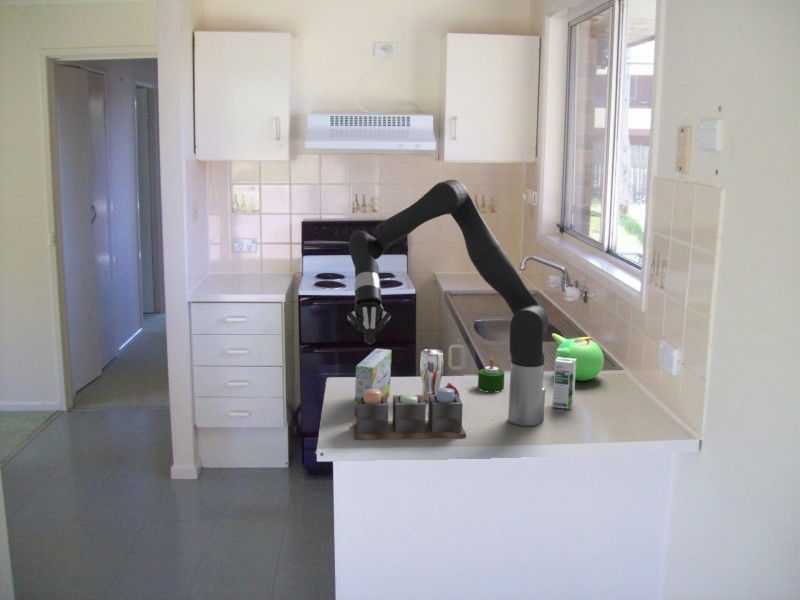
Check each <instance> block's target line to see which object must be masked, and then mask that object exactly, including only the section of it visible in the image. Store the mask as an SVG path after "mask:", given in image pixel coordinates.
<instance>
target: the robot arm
mask: <svg viewBox="0 0 800 600" xmlns="http://www.w3.org/2000/svg"><path fill="white" fill-rule="evenodd" d="M472 198H473V197H471V194H470V193H469V191H468V189H467V187H466V186H465V185H464V184H463V183H462V182H461V181H459V180H456V179H448V180H445V181H441V182H438V183H436V184H435V185H434V186H432V187H431V188H430V189H429V190H428V191H427V192H426V193H424V195H422V196H421V198H419V199H418V200H417V201H415V202H414V203H412V204H411V205H410V206H408V207H406V208H405V209H403V210H401V211H399V212H397V213H396V214H394V215H392V216H390V217H389V218H386V220H384V221H382V222H380V223H379V224H377V226H376V227H375V228H374V235H375V237H374V236H373V235H371V234H369V233H368V232H366V231H365V230H356V231H354V232H353V233H352V234H351V235H350V236H349V237H350V238H349V241H348V250H349V251H348V252H349V254H350V257H351V260H352V261H351V262H352V264H353V266H354V279H355V280H354V299H355V301H354V304H355V305H354V308H353V311H350V312H347V317H346V318H347V319H346V320H347V321H348V322H349V323H350V324H351V325H352V326H353V327H354V328H355V329H356V330H357V331H358V332H363V334H364V342H365V343H367V345H373V344H374V343H375V342H376V332H380V331H382V330H383V328H384V327H385V326H386V324H388V322H389V321H390V320H391V318H392V317H391V316H392V314H391V312H390V311H389V312H387V311H386V310H384V309H385V308H384V307H383V305H382V304H383V303H382V289H381V281H380V271H379V269H380V268H379V264H378V262H377V259H380V257H381V256H383V254H384V253H385V252H386V251H387V250H388V249H389V248H390V247H391V246H392V245H394V244H395V243H397V242H398V241H400V240H402V239H403V238H405V237H407V236H408V235H409V234H410V233H412V232H413V231H415V230H416V229H417V228H418V227H420V226H422V225H423V224H424V223H427V222H428V221H431V220H433V219H436V218H439V217H441V216H444V215H450V216H451V217H452V218H453V220H454V221H455V223H456V224H457V225H458V227H459V229H460V230H461V233H462V235H463V236H462V237H463V239H464V243H465V247H466V250H467V251H466V252H467V254H468V255H467V256H468V257H469V259H470V261H471V263H472V264H473V266H474V268H475V269H476V271H477V272H478V273H479V275H480V276H481V278H483V280H484V281H485V282H486V284H488V285H489V286H490V287H491V288H492V289H493V290H494V291H496V292H497V294H499V295H500V297H502V299H503V300H504V301H505V303H506V304H507V305H508V307H509V310H510V311H511V313H512V314H513V316H512V318H511V320H510V325H509V354H510V373H509V374H510V376H509V378H510V379H509V382H510V383H509V396H508V397H509V399H508V415H507V417H508V418H507V419H508V422H510V423H511V424H513V425H517V426H524V427H531V426H537V425H539V424H541V423H542V422H544V419H545V418H544V417H545V404H546V403H545V401H546V400H545V399H546V389H545V388H544V372H545V371H544V370H545V354H544V351H543V342H544V340H543V338H544V333H545V332H546V331H547V329H548V327H549V316H548V314H547V312H546V310H545V309H544V308H543V306H542V305H541V304H540V303H539V301H538V300H537V299H536V298H535V296H534V295H533V294H532V292H530V290H529V289H528V287H527V286H526V284H524V282H523V280H522V278H521V276H520V274H519V273H518V271H517V269H516V268H515V267H514V264H513V263H512V261H511V260H510V258H509V256H508V255H507V254H506V252H505V250H504V249H503V248H502V245H501V244H500V243H499V241H498V240H497V238H496V236H495V235H494V234H493V232H492V231H491V229H490V228H489V226H488V224H487V223H486V222H485V220H484V218H483V217H482V215H481V214H480V212H479V210H478V208H477V207H476V205H475V202H474V200H473V199H472ZM380 318H381V319H380ZM358 319H359V320H360V321H359V320H358ZM379 319H380V320H379ZM378 320H379V322H378V323H377V324H376V322H377V321H378ZM369 323H370V324H369Z"/></svg>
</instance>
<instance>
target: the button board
mask: <svg viewBox="0 0 800 600" xmlns="http://www.w3.org/2000/svg"><path fill="white" fill-rule="evenodd" d="M414 395H415V396H417V397H418V403H400V397H401V396H403V394H399V395H398V394H397V395H392V420H389V403H388V402H389V401H388V398H386V396H381V404H363V398H364V396H357V415H356V421H352V431H353V436H354V437H353V438H354V440H355V441H357V439H366V440H398V439H397V438H413V439H444V438H445V439H446V438H447V439H452V438H453V439H455V438H467V433H466V431H465V429H464V427H463V402H462V400H461V399H460V396H459V397H458V395H457V394H454V402H452V403H437V395H429V402H428V410H427V411H428V412H427V413H428V415H427V419H428V420H426V408H427V407H426V406H427V404H426V401H424V399H423V397H422V395H421V394H414Z"/></svg>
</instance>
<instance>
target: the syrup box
mask: <svg viewBox="0 0 800 600" xmlns="http://www.w3.org/2000/svg"><path fill="white" fill-rule="evenodd" d="M553 368H554V370H553V371H554V373H553V392H552V402H551V403H552V404H551V406H552V408H559V409H564V408H566V410H572V407H573V406H572V405H574V400H575V386H576V380H575V372H576V359H570V358H561V357H558V358H557V359H556V361H554V367H553Z"/></svg>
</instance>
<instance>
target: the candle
mask: <svg viewBox="0 0 800 600" xmlns="http://www.w3.org/2000/svg"><path fill="white" fill-rule="evenodd" d="M494 365H495V360H494V358H490V359H489V366H485V367H484V368H482V369H479V370H478V375H477V378H478V379H477V389H478V388H479V389H481V390H483V391H482V392H484V391H488V392H487V393H496V392H495V391H501V390H503V389H504V390H505V371H503V370H501V369H500V368H499V367H497V366H494ZM479 389H478V390H479ZM481 390H480V391H481ZM504 390H503V391H504ZM501 392H502V391H501Z"/></svg>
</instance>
